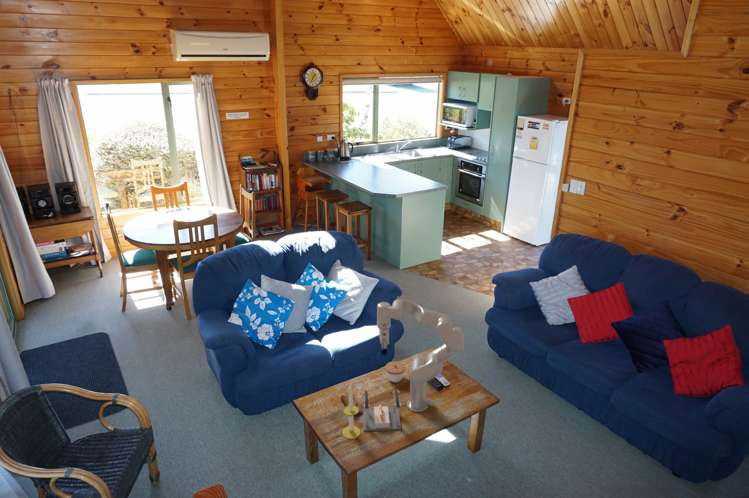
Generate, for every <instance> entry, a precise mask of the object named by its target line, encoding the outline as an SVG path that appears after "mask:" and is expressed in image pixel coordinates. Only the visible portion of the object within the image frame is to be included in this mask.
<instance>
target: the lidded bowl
mask: <svg viewBox="0 0 749 498" xmlns="http://www.w3.org/2000/svg"><path fill="white" fill-rule="evenodd" d="M384 367H385V375H386V378H387V379H388V380H389V381H390V382H392V383H400V382H401V381H402V379H404V376H405V373H406V365H405V364H404V363H402V362H400V361H390V362H388V363H386V365H385V366H384Z"/></svg>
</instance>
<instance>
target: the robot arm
mask: <svg viewBox="0 0 749 498" xmlns="http://www.w3.org/2000/svg"><path fill="white" fill-rule="evenodd" d="M405 313H408V314H410V315H411V316H413V317H414V318H415V319H416V320H417V322H419V324H420V325H424V326H427V327H431V328H435V331H436V334H437V336H438V337H439V339H441V341H442V342H443V344H442V345H441V346H438V347H437V348H435V349H433V350H431V351H430V352H428V353H427V354H426V357H425V358H426V359H425V358H424V357H422V356H417V357H414V358H413V359H412V361H411V363H410V369H409V381H410V382H409V398H408V400H407V401H406V407H407V409H409V410H410V411H411V412H415V413H421V412H425V411H426V410H427V409H428V408H429V405H434V404H435V403H434V400H432V397H427V384H428V381H431V380H433V379H434V378H436V377H438V376H439V375H440V374H441V373H443V367H444V363H445V362H447V361H449V360H450V359H452V358H454V357H455V356H457V355H458V353H460V352H462V350H463V348H464V346H465V345H464V344H465V343H464V340H465V338H464V337H465V334H464V331H463V330H462V328H461V327H459V326H458V327H457V326H456V327H453V322H452V321H453V320H452V317H451V316H450V315H448V314H447V313H443V312H438V311H436V310H435V311H434V310H430V309H427V308H424V307H422V306H421V305H419V304H417V303H416V302H414V301H411V300H407V299H402V298H398V299H397V298H396V299H395V300H394V301H393V302H392V304H390V303H389V302H386V301H381V302H378V303H377V306H376V327H377V328H378V329H379V330H378V334H379V335H378V336H379V342H380V344H379V345H380V346H381V350H380V353H381V354H380V355H381V356H387V355H388V345H389V344H390V328H391V321H392V320H396V321H400V320H402V319H403V318H404V316H405ZM391 319H392V320H391Z"/></svg>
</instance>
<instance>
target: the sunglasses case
mask: <svg viewBox="0 0 749 498" xmlns="http://www.w3.org/2000/svg"><path fill="white" fill-rule="evenodd" d="M340 400H341V401H342V403H343V405H344V406H347V405H349V395H341V396H340ZM353 405H355V406H357V407H358V408H359V411H358V413H357V414H355V415H353V418H356V417H359V416H361V415H362V416H363V410H364V409H363V408H362V406H361V405H360V404H359V403H358V401H357V399H356V397H355V396H354V395H353Z"/></svg>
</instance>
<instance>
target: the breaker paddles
mask: <svg viewBox="0 0 749 498" xmlns="http://www.w3.org/2000/svg"><path fill="white" fill-rule="evenodd" d="M378 407H379V409H380V418H381V420H382V419H383V415H382V407H383V406H382V404H379V405H378Z"/></svg>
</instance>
